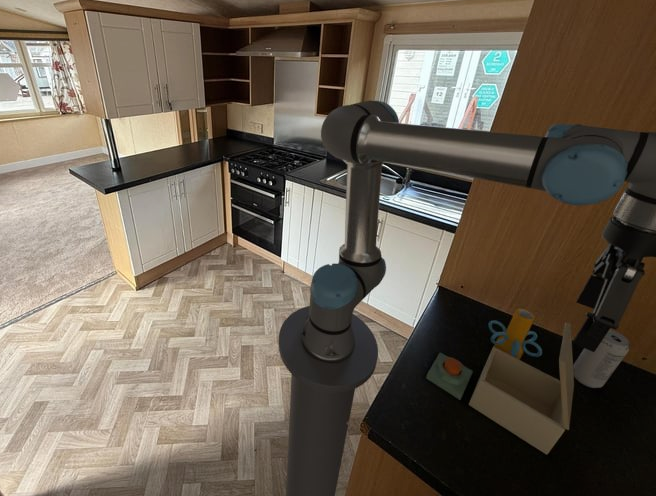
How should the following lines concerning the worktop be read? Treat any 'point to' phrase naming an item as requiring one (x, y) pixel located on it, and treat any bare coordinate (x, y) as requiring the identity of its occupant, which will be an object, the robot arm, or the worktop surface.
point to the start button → (452, 366)
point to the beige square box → (520, 400)
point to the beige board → (566, 375)
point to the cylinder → (516, 335)
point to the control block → (449, 377)
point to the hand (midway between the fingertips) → (584, 324)
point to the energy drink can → (601, 360)
